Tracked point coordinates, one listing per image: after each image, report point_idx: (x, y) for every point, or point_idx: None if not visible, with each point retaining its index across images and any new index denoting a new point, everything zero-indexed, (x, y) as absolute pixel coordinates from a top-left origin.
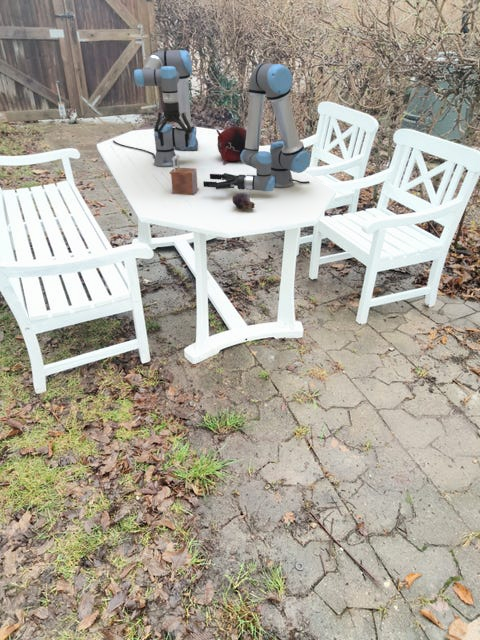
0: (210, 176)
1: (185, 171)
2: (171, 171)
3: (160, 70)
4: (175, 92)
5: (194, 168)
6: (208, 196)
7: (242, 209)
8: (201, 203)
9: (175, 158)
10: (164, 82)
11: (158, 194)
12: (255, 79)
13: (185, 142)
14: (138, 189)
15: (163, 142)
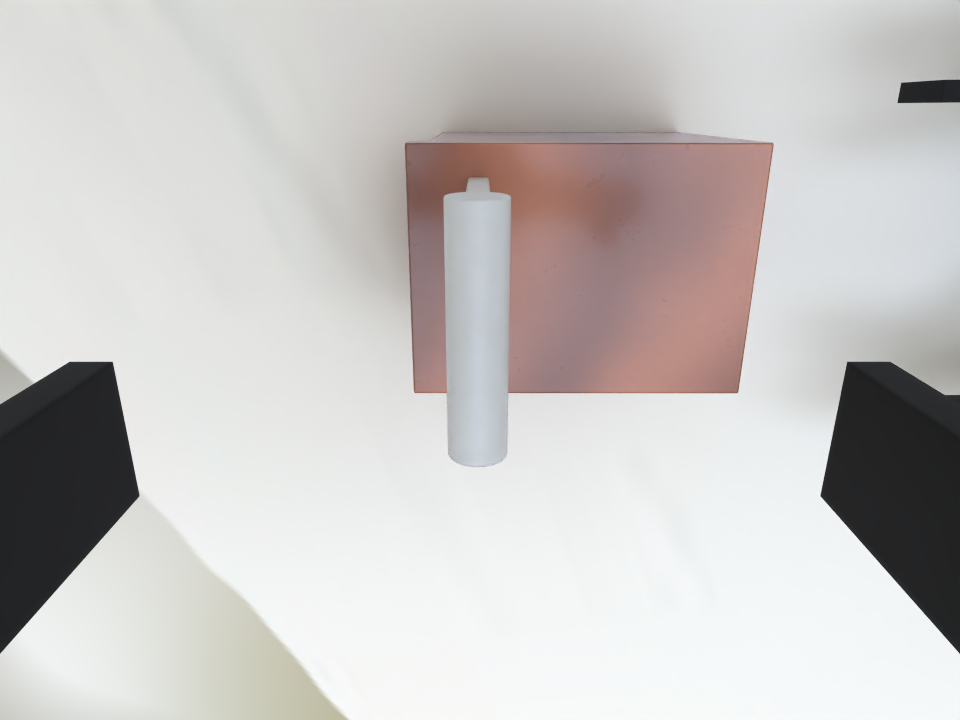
0: (928, 102)
1: (632, 324)
2: (428, 359)
3: None
4: None
5: (743, 146)
6: (825, 326)
7: None
8: (780, 502)
9: (506, 420)
10: None
11: (316, 360)
12: None
13: (902, 579)
14: (37, 254)
15: (72, 415)
